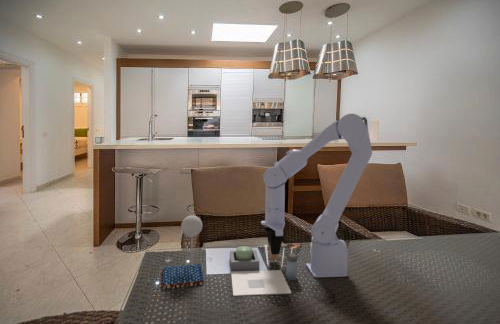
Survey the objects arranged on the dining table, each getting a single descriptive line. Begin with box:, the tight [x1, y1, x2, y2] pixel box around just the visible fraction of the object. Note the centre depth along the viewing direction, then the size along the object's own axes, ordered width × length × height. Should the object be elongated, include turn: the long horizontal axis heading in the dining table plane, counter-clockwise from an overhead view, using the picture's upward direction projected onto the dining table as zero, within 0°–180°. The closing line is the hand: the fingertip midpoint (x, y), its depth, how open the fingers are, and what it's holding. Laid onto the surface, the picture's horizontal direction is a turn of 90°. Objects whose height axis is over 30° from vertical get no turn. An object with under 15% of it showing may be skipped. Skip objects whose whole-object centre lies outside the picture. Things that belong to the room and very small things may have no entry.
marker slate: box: [285, 253, 298, 281], centre depth 79 cm, size 3×3×6 cm
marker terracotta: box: [269, 248, 280, 260], centre depth 88 cm, size 3×3×7 cm
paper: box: [230, 269, 292, 297], centre depth 76 cm, size 14×12×1 cm
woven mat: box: [160, 263, 205, 290], centre depth 78 cm, size 10×11×2 cm
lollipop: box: [180, 214, 204, 265], centre depth 84 cm, size 6×6×15 cm
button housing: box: [229, 249, 260, 272], centre depth 87 cm, size 8×8×2 cm
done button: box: [235, 245, 253, 261], centre depth 87 cm, size 5×5×3 cm
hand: (274, 251), depth 89 cm, fingers closed on marker terracotta, 3 cm apart
